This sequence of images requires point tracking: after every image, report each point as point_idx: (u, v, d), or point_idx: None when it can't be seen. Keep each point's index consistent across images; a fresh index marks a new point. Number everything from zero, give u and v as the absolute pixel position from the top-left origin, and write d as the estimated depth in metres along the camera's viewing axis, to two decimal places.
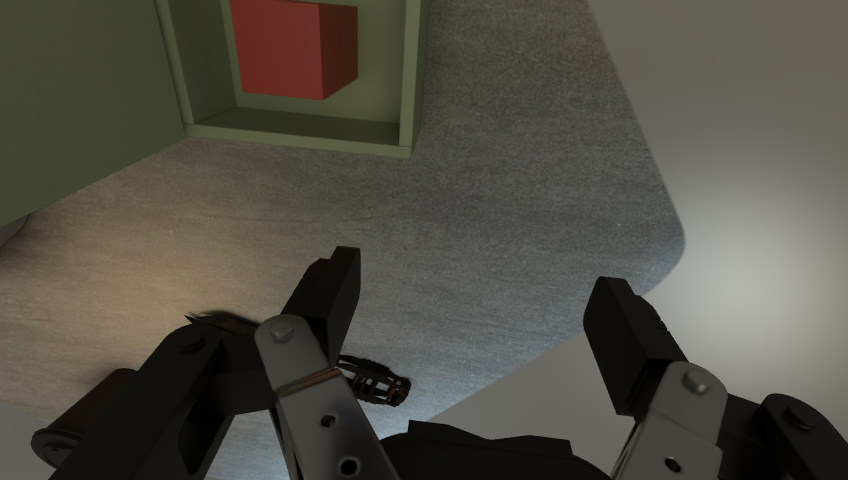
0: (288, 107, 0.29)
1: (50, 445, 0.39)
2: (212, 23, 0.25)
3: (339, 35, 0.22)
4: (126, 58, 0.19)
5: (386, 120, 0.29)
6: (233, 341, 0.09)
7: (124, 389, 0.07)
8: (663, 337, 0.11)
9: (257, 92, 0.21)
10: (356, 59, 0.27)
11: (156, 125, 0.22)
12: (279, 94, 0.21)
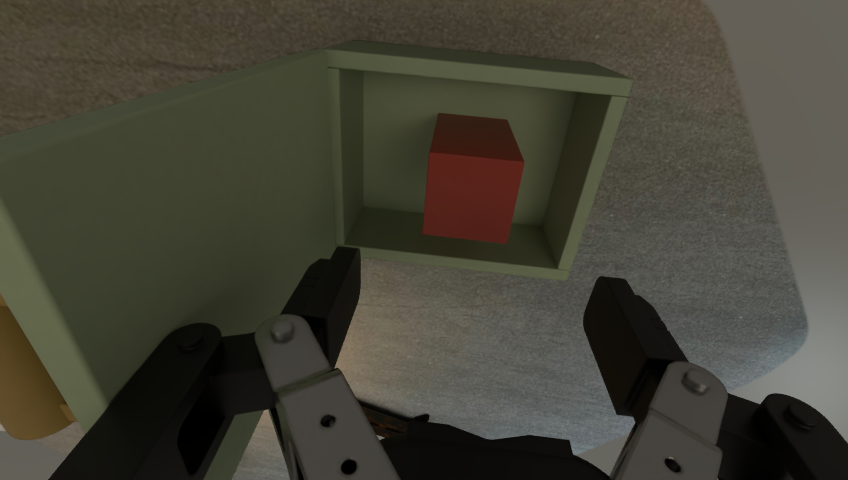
0: (417, 208, 0.28)
1: None
2: (358, 138, 0.25)
3: None
4: (315, 210, 0.19)
5: (518, 222, 0.28)
6: (234, 341, 0.09)
7: (124, 389, 0.07)
8: (663, 337, 0.11)
9: (437, 235, 0.20)
10: None
11: None
12: (461, 237, 0.20)
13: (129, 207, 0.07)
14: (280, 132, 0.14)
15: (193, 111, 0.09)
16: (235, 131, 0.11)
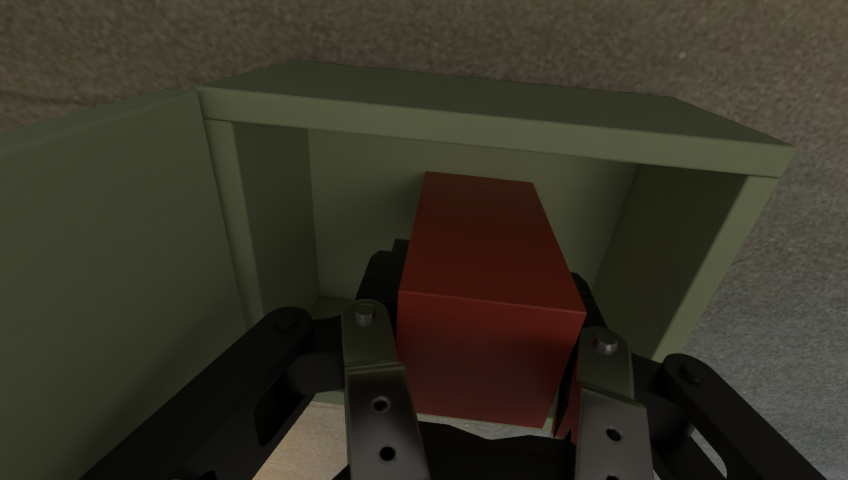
0: None
1: None
2: (301, 210, 0.16)
3: None
4: None
5: None
6: (318, 324, 0.10)
7: (224, 352, 0.08)
8: (589, 308, 0.12)
9: (419, 412, 0.11)
10: None
11: None
12: (461, 417, 0.11)
13: None
14: None
15: None
16: None
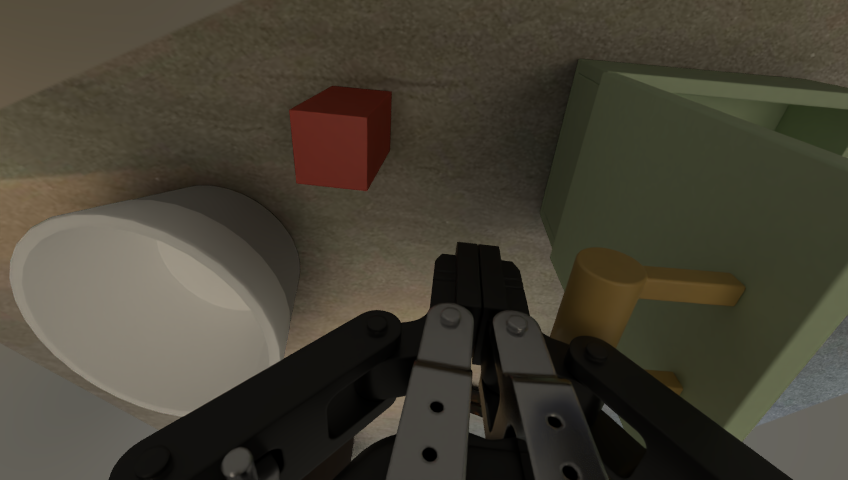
0: None
1: None
2: None
3: (379, 128, 0.25)
4: None
5: None
6: (401, 328, 0.10)
7: (317, 341, 0.09)
8: (515, 294, 0.12)
9: (309, 184, 0.24)
10: (389, 136, 0.29)
11: None
12: (328, 186, 0.24)
13: None
14: None
15: None
16: None
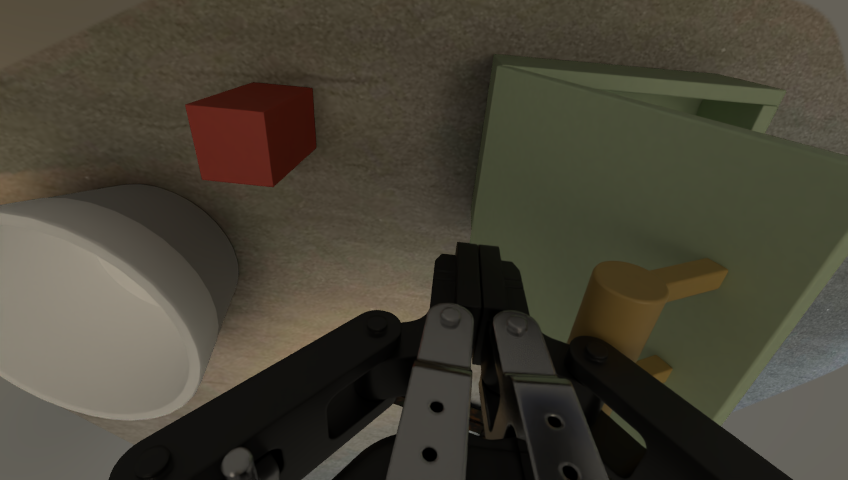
0: None
1: None
2: None
3: (291, 124, 0.25)
4: None
5: None
6: (401, 328, 0.10)
7: (317, 341, 0.09)
8: (515, 294, 0.12)
9: (215, 180, 0.23)
10: (313, 133, 0.29)
11: None
12: (234, 182, 0.23)
13: None
14: None
15: None
16: None
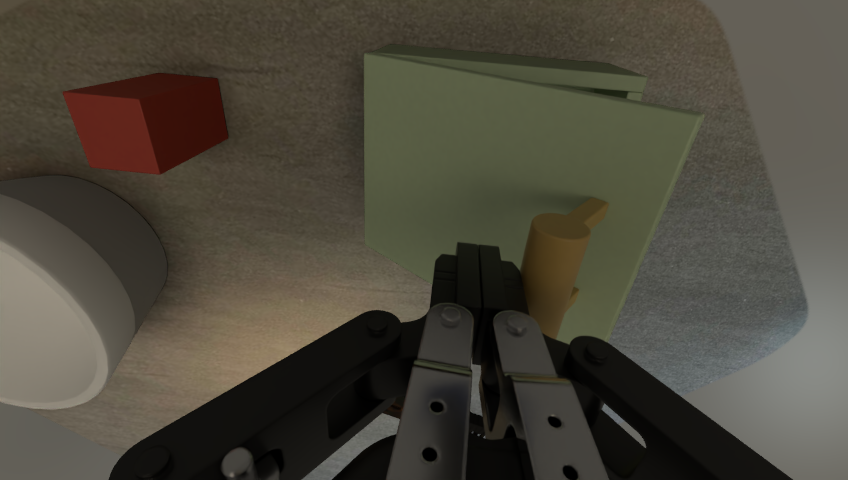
0: None
1: None
2: None
3: (185, 113, 0.25)
4: None
5: None
6: (401, 328, 0.10)
7: (316, 340, 0.09)
8: (515, 294, 0.12)
9: (103, 167, 0.24)
10: (222, 123, 0.29)
11: None
12: (121, 169, 0.24)
13: None
14: None
15: None
16: None
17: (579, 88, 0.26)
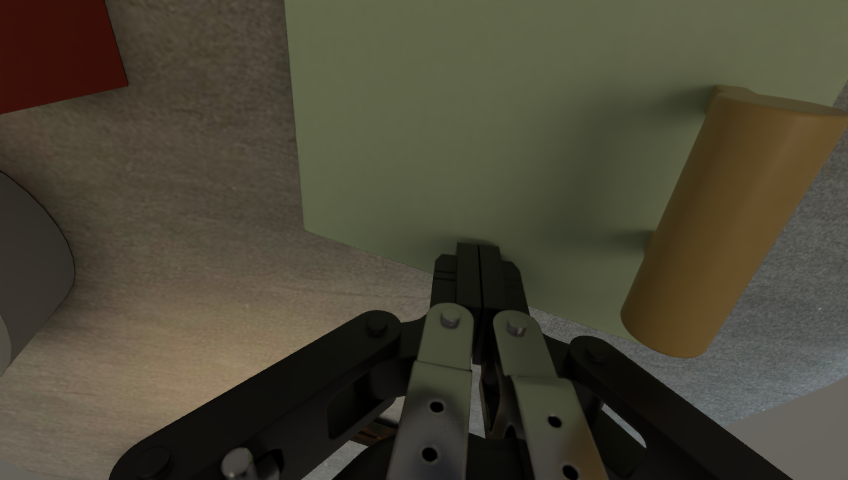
0: None
1: None
2: None
3: (33, 32, 0.17)
4: None
5: None
6: (401, 328, 0.10)
7: (316, 341, 0.09)
8: (516, 294, 0.12)
9: None
10: (114, 62, 0.21)
11: None
12: None
13: None
14: None
15: None
16: None
17: None
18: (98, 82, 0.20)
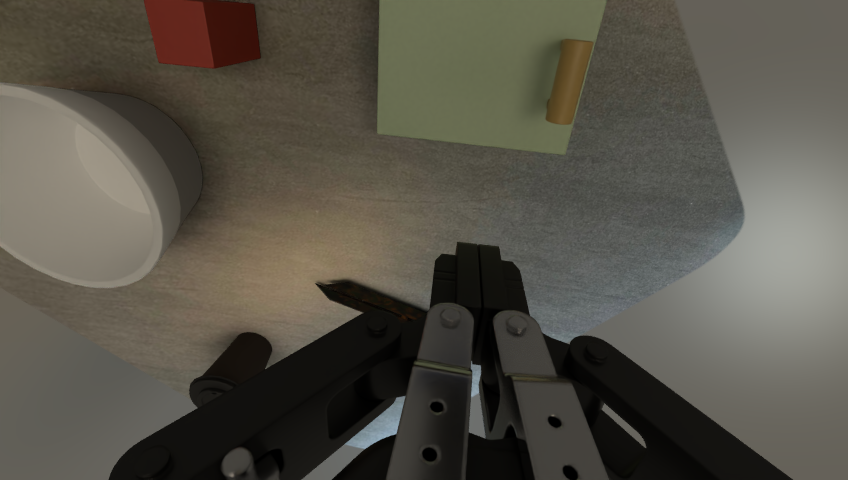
0: None
1: (209, 389, 0.47)
2: None
3: (231, 24, 0.32)
4: None
5: None
6: (401, 328, 0.10)
7: (316, 341, 0.09)
8: (516, 294, 0.12)
9: (168, 63, 0.30)
10: (256, 43, 0.36)
11: None
12: (184, 64, 0.30)
13: None
14: None
15: None
16: None
17: None
18: (250, 54, 0.35)
